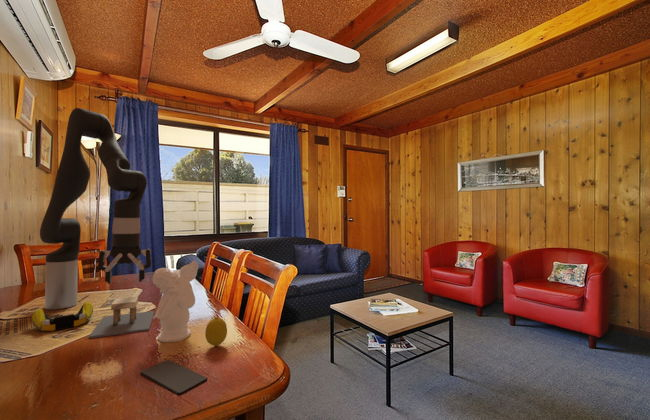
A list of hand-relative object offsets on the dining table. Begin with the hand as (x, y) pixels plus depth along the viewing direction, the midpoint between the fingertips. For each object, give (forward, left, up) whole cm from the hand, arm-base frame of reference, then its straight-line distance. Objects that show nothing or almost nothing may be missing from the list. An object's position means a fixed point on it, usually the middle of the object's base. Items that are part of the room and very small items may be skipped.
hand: (125, 282), depth 98 cm
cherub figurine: (+15, +15, -14) cm, 25 cm away
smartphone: (+41, +15, -14) cm, 46 cm away
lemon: (+29, +25, -14) cm, 41 cm away
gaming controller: (-7, -17, -14) cm, 23 cm away
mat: (0, 0, -13) cm, 13 cm away
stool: (0, 0, -13) cm, 13 cm away
